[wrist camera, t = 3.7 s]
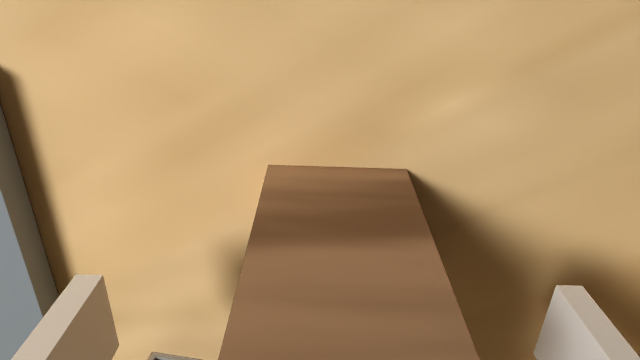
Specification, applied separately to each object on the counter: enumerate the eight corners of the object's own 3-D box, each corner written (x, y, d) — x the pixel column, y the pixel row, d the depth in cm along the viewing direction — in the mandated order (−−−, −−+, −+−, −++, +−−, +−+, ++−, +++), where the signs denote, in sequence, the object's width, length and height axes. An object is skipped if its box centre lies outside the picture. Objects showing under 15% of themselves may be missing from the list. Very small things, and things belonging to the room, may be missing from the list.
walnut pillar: (268, 165, 16) (200, 427, 7) (406, 169, 16) (508, 435, 7) (270, 275, 18) (222, 578, 10) (392, 278, 18) (456, 583, 10)
